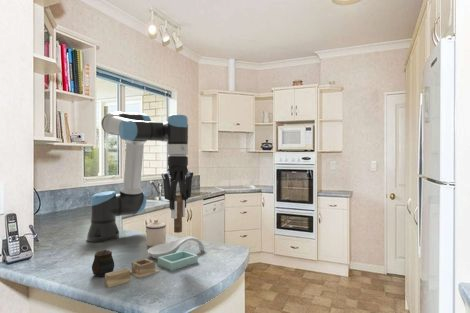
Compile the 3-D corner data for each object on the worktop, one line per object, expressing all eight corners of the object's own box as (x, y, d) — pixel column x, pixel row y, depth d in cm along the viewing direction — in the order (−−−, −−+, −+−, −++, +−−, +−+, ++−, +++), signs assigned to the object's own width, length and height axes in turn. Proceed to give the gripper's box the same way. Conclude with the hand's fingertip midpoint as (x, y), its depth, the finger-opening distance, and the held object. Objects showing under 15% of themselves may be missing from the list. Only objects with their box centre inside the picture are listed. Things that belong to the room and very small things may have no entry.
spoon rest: (150, 264, 120) (150, 246, 120) (144, 255, 131) (144, 238, 130) (207, 255, 131) (207, 238, 131) (198, 247, 141) (198, 232, 141)
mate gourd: (110, 269, 114) (110, 242, 114) (118, 275, 109) (118, 247, 108) (89, 274, 109) (89, 246, 109) (96, 281, 104) (96, 251, 104)
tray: (157, 266, 118) (157, 257, 118) (183, 258, 126) (183, 250, 126) (171, 272, 111) (171, 263, 111) (197, 263, 120) (197, 255, 120)
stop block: (105, 286, 100) (105, 273, 100) (125, 279, 105) (125, 268, 105) (109, 289, 98) (109, 276, 98) (130, 282, 103) (130, 270, 103)
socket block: (127, 273, 111) (127, 262, 110) (147, 267, 116) (147, 256, 116) (138, 279, 105) (138, 267, 105) (159, 273, 111) (159, 262, 111)
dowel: (177, 233, 117) (176, 195, 117) (172, 231, 119) (172, 195, 119) (183, 231, 119) (183, 194, 119) (179, 230, 121) (178, 194, 121)
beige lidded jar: (169, 244, 146) (169, 219, 146) (152, 248, 140) (152, 222, 140) (156, 239, 155) (156, 215, 155) (139, 242, 148) (139, 218, 148)
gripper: (165, 155, 110) (165, 222, 110) (200, 155, 122) (200, 215, 122) (154, 155, 115) (154, 219, 116) (188, 155, 127) (188, 213, 127)
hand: (178, 217), depth 119 cm, fingers closed on dowel, 3 cm apart
